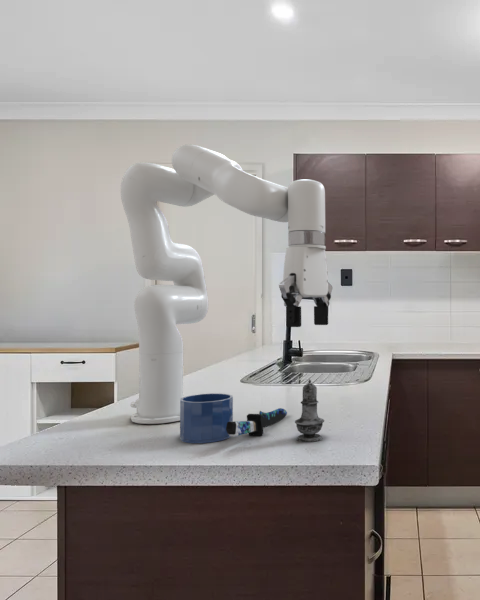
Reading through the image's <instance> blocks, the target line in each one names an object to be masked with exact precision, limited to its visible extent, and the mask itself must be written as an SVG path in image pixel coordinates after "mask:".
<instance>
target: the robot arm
mask: <svg viewBox="0 0 480 600" xmlns="http://www.w3.org/2000/svg"><path fill="white" fill-rule="evenodd" d="M171 165H172V168H171V167H168V166H166V165H162V164H158V163H153V162H147V161H145V162H143V161H142V162H141V161H140V162H135V163H133V164H131V165H130V166H129V167H128V168H127V169H126V170H125V172H124V174H123V175H122V178H121V179H122V180H121V183H120V200H121V204H122V207H123V210H124V213H125V216H126V219H127V223H128V226H129V233H130V240H131V246H132V252H133V253H132V254H133V259H134V264H135V268H136V271H137V273H138V275H139V276H140V277H142V279H145V280H151V281H161V282H173V284H152V285H148V286H144V287H143V288H141V289H140V290H139V291H138V293H137V294H136V296H135V298H134V301H133V303H134V305H133V307H134V308H133V309H134V313H135V314H134V315H135V317H136V318H135V319H136V324H137V330H138V353H139V354H138V397H137V398H136V400H135V401H132V402H130V407H131V408H135V409H136V412H135V413H134V414H132V415H131V422H132V423H135V424H142V425H159V424H169V423H174V422H180V399H181V398H183V397H184V340H183V336H182V334H181V332H180V330H179V329H178V326H177V325H189V324H196V323H199V322H201V321H202V320H204V319H205V317H206V316H207V313H208V310H209V295H208V289H207V283H206V276H205V271H204V266H203V261H202V257H201V256H200V254H199V252H198V251H197V250H196V249H195V248H194V247H192V246H190V245H188V244H185V243H179V242H178V243H177V242H174V241H173V240H172V237H171V233H170V226H169V222H168V220H167V218H166V216H165V214H164V212H163V211H162V209H161V208H160V207H159V206H158V205H157V202H160V203H164V204H168V205H173V206H178V207H185V208H187V207H192V206H194V205H195V206H196V205H198V204H200V203H201V202H203V201H205V200H207V199H209V198H211V197H212V196H214V195H215V196H216V197H217V198H218V199H219V200H220V201H221V202H223V203H225V204H226V205H229V206H231V207H232V208H235V209H237V210H239V211H240V212H243V213H245V214H247V215H250V216H254V217H258V218H262V219H267V220H270V221H275V222H278V223H287V227H288V228H287V230H288V231H287V233H288V234H287V238H288V239H287V241H288V244H287V247H286V250H285V254H284V255H285V256H284V262H283V278H282V281H280V282H279V284H278V288H279V290H280V293H281V296H280V297H281V299H282V301H283V306H284V307H285V325H286V327H287V328H301V327H302V306H300V303H301V302H302V300H303V298H312V300H313V302H314V304H315V305H313V324H314V325H315V326H328V325H329V306H330V301H331V298H332V291H333V285H331V283H330V281H329V271H328V259H327V254H326V249H327V245H326V244H327V241H326V240H327V238H326V236H327V235H326V189H325V186H324V184H323V183H322V182H320V181H317V180H314V179H296V180H293V181H291V182H290V183H289V185H288V186H285V185H282V184H278V183H276V182H273V181H270V180H266V179H263V178H261V177H259V176H256V175H253V174H251V173H249V172H246V171H244V170H243V168H242V166H241V165H240V164H239V163H238V162H236V161H234V160H232V159H229V158H228V157H227V156H225V155H224V154H222V153H220V152H217V151H214V150H212V149H209V148H206V147H204V146H200V145H197V144H191V143H190V144H189V143H188V144H182V145H180V146H178V147H177V148H176V149H175V150H174V152H173V153H172V156H171Z"/></svg>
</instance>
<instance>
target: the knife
mask: <svg viewBox="0 0 480 600" xmlns="http://www.w3.org/2000/svg"><path fill="white" fill-rule="evenodd" d="M287 415H288V411H287V410H286V409H284V408H282V407H279V408H276V409H274V410H271V411H268V412H264V411H261V410H259V413H248V414H247V415H246V420H240V421H239V420H238V421H234V420H233V421H230V422H227V426H226V431H227V433H228V434H229V436H231V437H239V436H243V435H246V434H248V436H253V437H262V436H263V435H264V428H267V427H269V426H272V425H274V424H277V423H279V422H280V421H282V420H283V419H284V418H286V416H287Z"/></svg>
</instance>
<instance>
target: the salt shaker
mask: <svg viewBox="0 0 480 600" xmlns="http://www.w3.org/2000/svg"><path fill="white" fill-rule="evenodd" d="M317 394H318V388H317V385H316V384H314V383H313V382H312V381H311V378H309V379H308V380H307V383H306V384H304V385H303V386H302V400H301V401H300V404H301V415H300V417H299V418H298V419H296V420H294V424H295V425H296V429H297V431H298V432H299V433H300V434H299V435H298V436H296V439H295V440H296V441H298V442H301V443H313V442H319V441H321V440H323V435H320V434H319V433H320V431H321V430H322V428H323V424H324V423H325V420H324V418H321V417H319V415H318V404H319V400H317V396H318V395H317Z"/></svg>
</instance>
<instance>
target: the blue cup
mask: <svg viewBox="0 0 480 600" xmlns="http://www.w3.org/2000/svg"><path fill="white" fill-rule="evenodd" d="M230 421H234V397H233V394H229V393H220V392H219V393H216V392H215V393H198V394H191V395H186V396H183V398H181V399H180V421H179V440H180V441H181V442H183V443H186V444H210V443H216V442H221V441H226V440H227V439H228V440H229V439H230V438H231V437H232V436H229V434H228V433H227V431H226V426H227V422H230Z"/></svg>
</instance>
